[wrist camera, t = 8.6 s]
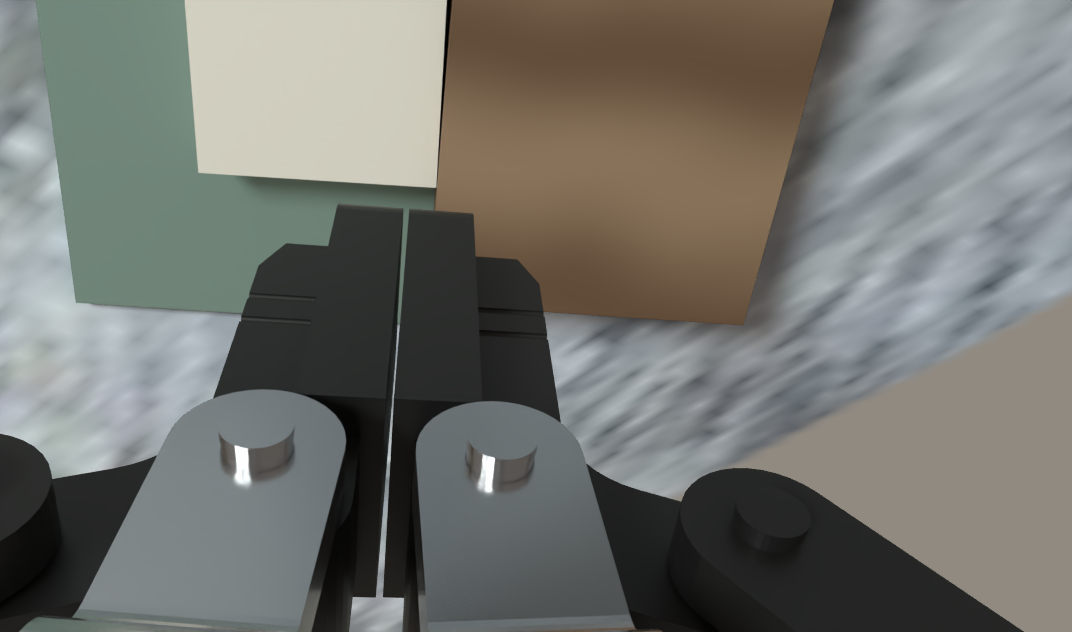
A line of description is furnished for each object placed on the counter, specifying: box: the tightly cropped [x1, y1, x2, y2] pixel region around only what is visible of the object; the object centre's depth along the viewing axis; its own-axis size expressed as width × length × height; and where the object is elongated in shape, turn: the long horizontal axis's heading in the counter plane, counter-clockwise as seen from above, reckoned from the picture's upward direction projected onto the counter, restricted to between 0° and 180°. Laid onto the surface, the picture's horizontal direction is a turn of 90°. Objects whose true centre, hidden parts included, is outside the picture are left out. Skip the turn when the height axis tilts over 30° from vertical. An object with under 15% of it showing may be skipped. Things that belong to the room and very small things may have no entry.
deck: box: [433, 0, 834, 325], centre depth 24 cm, size 16×9×2 cm, turn 173°
